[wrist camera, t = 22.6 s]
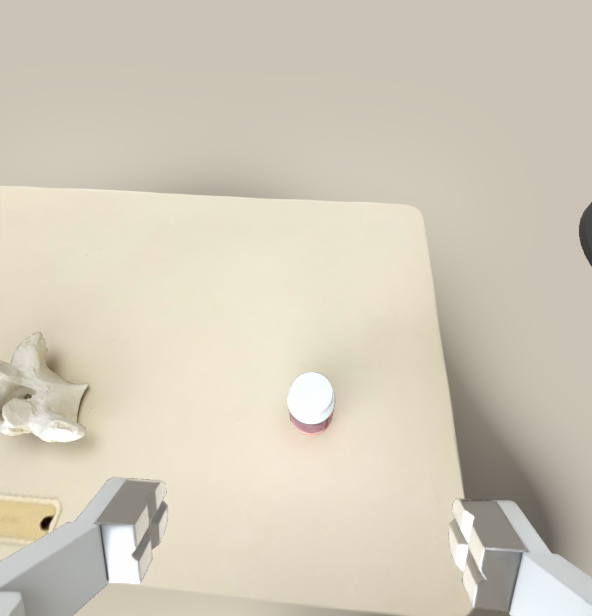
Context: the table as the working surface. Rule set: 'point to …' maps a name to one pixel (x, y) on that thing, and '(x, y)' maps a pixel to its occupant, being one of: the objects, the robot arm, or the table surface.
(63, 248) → the table surface
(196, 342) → the table surface
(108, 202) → the table surface
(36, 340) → the bone
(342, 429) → the table surface
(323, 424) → the pill bottle
